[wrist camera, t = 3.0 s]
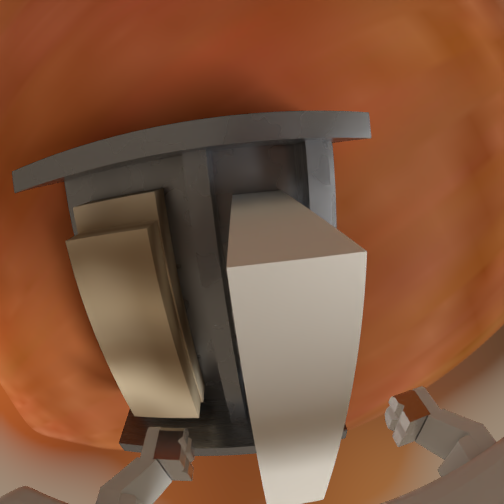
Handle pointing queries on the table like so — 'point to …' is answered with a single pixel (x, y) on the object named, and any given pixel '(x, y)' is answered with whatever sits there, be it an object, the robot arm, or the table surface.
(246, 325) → the cream slab
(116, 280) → the offcut stack
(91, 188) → the rack
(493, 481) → the robot arm
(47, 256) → the table surface
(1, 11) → the table surface
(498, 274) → the table surface
